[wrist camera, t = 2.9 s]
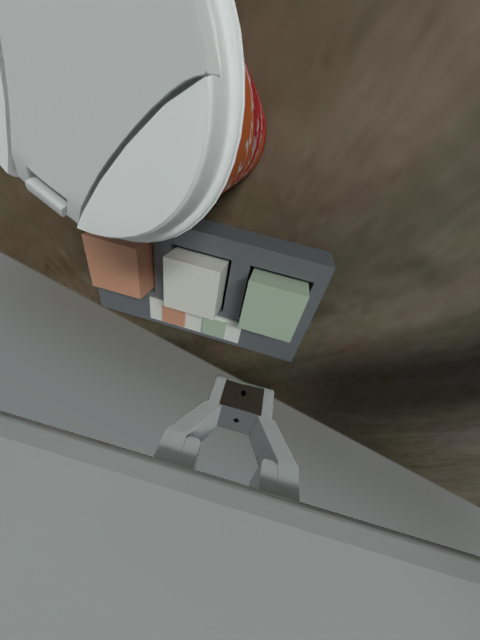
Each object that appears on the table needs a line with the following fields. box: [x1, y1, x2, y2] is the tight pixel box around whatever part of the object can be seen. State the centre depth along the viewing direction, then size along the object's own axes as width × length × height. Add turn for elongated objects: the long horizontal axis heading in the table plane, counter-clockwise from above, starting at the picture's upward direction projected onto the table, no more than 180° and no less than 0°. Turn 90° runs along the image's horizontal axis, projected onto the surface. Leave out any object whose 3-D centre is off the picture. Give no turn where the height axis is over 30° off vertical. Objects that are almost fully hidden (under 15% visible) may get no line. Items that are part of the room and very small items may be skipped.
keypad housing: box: [98, 219, 336, 362], centre depth 21 cm, size 20×10×4 cm, turn 79°
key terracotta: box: [81, 232, 155, 299], centre depth 19 cm, size 4×4×2 cm
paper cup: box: [0, 0, 266, 243], centre depth 11 cm, size 8×8×14 cm
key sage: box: [238, 268, 310, 343], centre depth 18 cm, size 4×4×2 cm
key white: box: [163, 247, 229, 321], centre depth 19 cm, size 4×4×2 cm
